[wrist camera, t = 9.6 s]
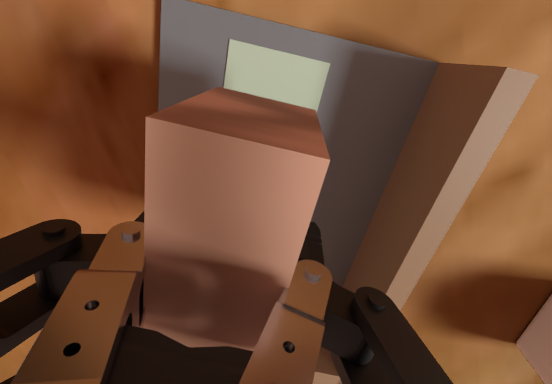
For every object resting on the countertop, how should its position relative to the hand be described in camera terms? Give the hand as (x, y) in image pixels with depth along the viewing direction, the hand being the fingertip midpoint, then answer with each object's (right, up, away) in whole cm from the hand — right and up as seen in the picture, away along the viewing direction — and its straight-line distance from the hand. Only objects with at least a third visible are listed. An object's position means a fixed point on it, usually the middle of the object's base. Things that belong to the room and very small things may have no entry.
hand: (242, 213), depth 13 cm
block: (0, 0, +1) cm, 1 cm away
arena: (+1, +1, +7) cm, 7 cm away
